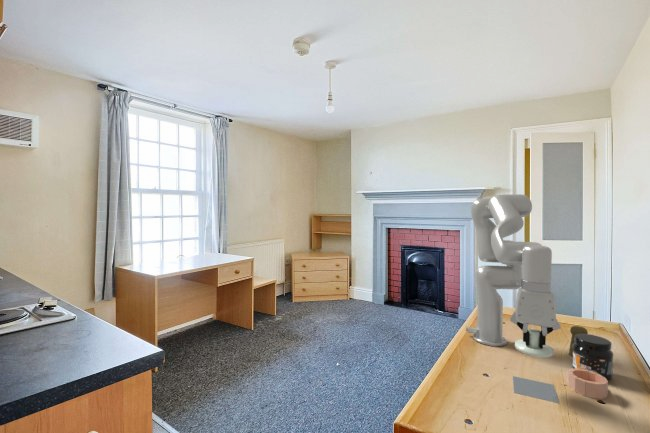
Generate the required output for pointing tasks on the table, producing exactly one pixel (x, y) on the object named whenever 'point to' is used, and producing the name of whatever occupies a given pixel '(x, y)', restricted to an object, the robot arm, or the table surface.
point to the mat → (535, 389)
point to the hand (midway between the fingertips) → (533, 345)
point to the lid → (534, 346)
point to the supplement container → (593, 355)
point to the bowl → (587, 383)
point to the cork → (574, 331)
